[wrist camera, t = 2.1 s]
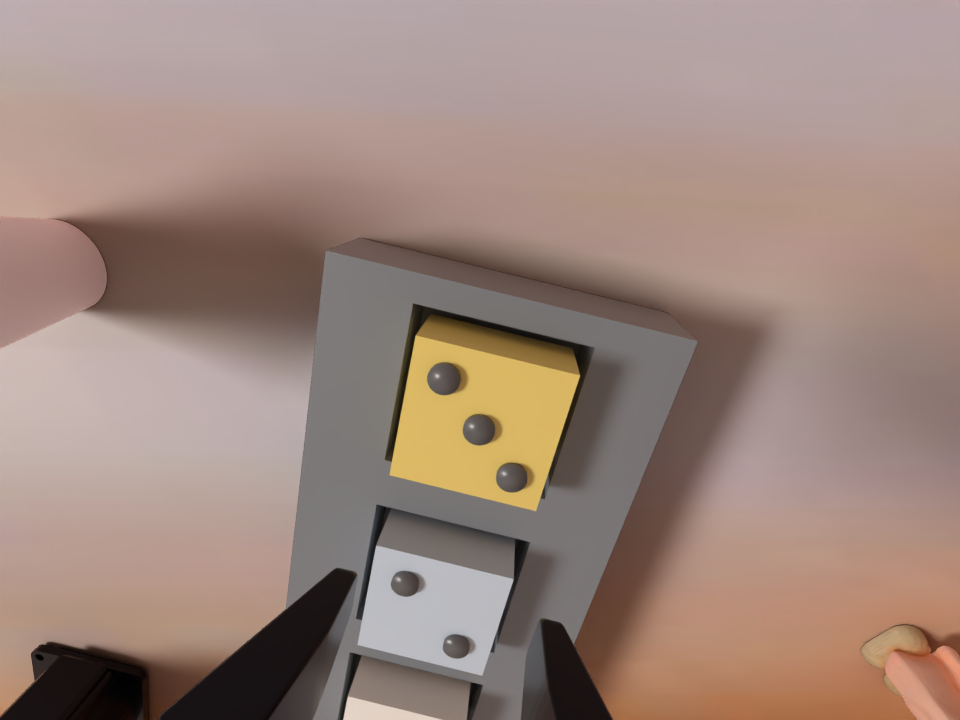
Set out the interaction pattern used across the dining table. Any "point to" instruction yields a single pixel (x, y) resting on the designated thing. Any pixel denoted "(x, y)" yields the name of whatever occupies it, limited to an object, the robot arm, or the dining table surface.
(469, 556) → the button two
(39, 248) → the smoothie
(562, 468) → the button panel
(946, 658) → the grandmother figurine
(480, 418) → the button three
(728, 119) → the dining table surface
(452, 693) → the button one
